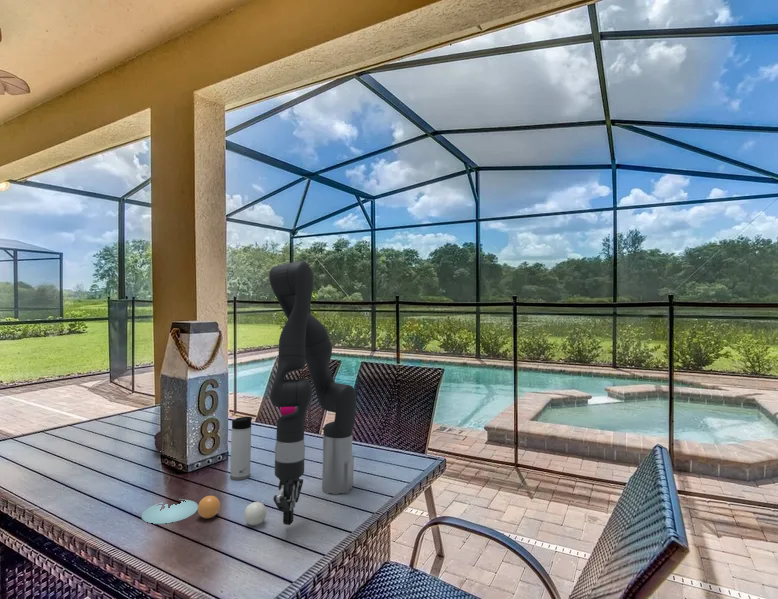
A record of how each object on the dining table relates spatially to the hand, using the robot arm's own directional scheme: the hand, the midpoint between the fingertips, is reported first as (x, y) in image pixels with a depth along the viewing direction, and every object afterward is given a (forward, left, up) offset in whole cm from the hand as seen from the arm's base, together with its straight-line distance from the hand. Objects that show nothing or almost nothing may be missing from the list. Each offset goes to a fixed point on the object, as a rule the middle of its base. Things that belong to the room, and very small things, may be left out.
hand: (288, 523), depth 114 cm
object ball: (+23, 0, +1) cm, 24 cm away
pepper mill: (+28, -57, -2) cm, 64 cm away
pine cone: (+68, -39, -2) cm, 79 cm away
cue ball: (+9, 0, +1) cm, 10 cm away
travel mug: (+30, -27, -2) cm, 41 cm away
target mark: (+35, 0, -2) cm, 36 cm away
